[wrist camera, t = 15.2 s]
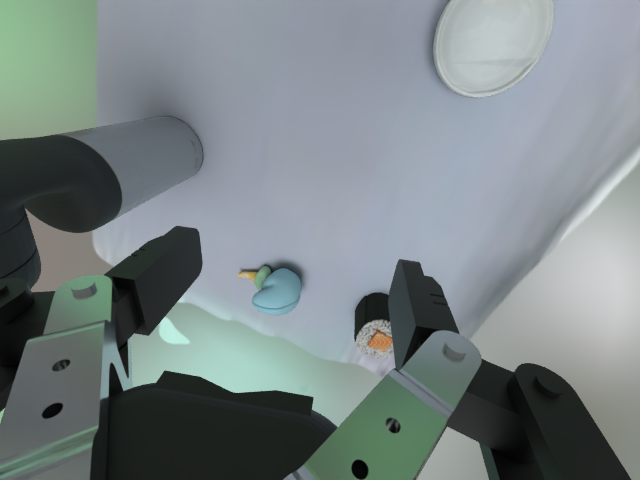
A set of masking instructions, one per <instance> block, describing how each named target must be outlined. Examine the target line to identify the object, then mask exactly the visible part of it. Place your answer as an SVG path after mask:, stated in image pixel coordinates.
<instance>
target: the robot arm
mask: <svg viewBox="0 0 640 480" xmlns="http://www.w3.org/2000/svg"><path fill="white" fill-rule="evenodd" d="M202 160H203V151H202V146H201V144H200V141H199V139H198V137H197V136H196V134H195V133H194V131H193V130H192V129H191V128H190V127H189V126H188V125H187V124H185V123H184V122H182V121H181V120H179V119H176V118H173V117H168V116H164V117H157V118H151V119H144V120H138V121H132V122H126V123H120V124H114V125H108V126H102V127H96V128H90V129H85V130H80V131H74V132H68V133H62V134H56V135H50V136H44V137H37V138H24V139H9V140H0V412H1V411H2V410H3V409H4V408H5V410H4V413H3V417H2V420H1V423H0V480H416V479H417V478H418V476H419V474H420V473H421V471H422V469H423V467H424V466H425V464H426V462H427V460H428V459H429V457H430V455H431V453H432V452H433V450H434V448H435V447H436V445H437V443H438V441H439V440H440V438H441V436H442V434H443V433H444V431H445V429H446V427H447V426H448V427H450V428H452V429H454V430H456V431H458V432H460V433H462V434H464V435H466V436H468V437H470V438H472V439H474V440H476V441H478V442H479V444H480V448H481V451H482V455H483V459H484V462H485V466H486V469H487V473H488V477H489V480H631V479H630V477H629V475H628V474H627V472H626V470H625V469H624V467H623V466H622V464H621V462H620V461H619V459H618V458H617V456H616V455H615V453H614V451H613V450H612V448H611V447H610V446H609V444H608V442H607V440H606V439H605V437H604V436H603V434H602V433H601V431H600V429H599V428H598V427H597V425H596V423H595V422H594V420H593V418H592V417H591V415H590V414H589V412H588V410H587V409H586V407H585V406H584V404H583V403H582V401H581V399H580V398H579V396H578V395H577V393H576V392H575V390H574V389H573V388H572V387H571V386H570V385H569V384H568V383H567V382H566V381H565V380H564V379H563V378H562V377H560V376H559V375H557V374H556V373H554V372H552V371H551V370H549V369H547V368H545V367H542V366H539V365H536V364H531V363H525V364H521V365H519V366H518V367H517V369H516V370H515V372H511V371H509V370H506V369H504V368H502V367H499V366H497V365H494V364H491V363H489V362H487V361H485V360H483V359H482V358H481V355H480V352H479V350H478V349H477V348H476V346H475V345H474V344H473V343H472V342H471V341H469V340H468V339H467V338H465V337H464V336H462V335H460V334H459V331H458V328H457V326H456V323H455V321H454V318H453V316H452V313H451V311H450V308H449V306H448V303H447V301H446V298H444V297H445V296H444V293H443V291H442V288H441V286H440V285H439V284H438V283H437V282H436V281H435V280H434V279H433V278H432V277H429V276H424V274H423V271H422V268H421V265H420V263H419V262H415V261H409V260H402V259H399V261H398V263H397V266H396V270H395V273H394V277H393V281H392V284H391V288H390V292H389V298H388V309H389V317H390V325H391V333H392V341H393V349H394V357H395V365H396V368H394V369H392V370H391V371H390V372H389V373H388V374H387V375H386V376H385V377H384V378H383V379H382V380H381V381H380V382H379V384H378V385H377V386H376V387H375V388H374V389H373V390H372V391H371V392H370V393H369V394H368V395H367V397H366V398H365V399H364V400H363V401H362V402H361V403H360V404H359V405H358V406H357V407H356V408H355V410H354V411H353V412H352V413H351V414H350V415H349V416H348V417H347V418H346V419H345V420H344V421H343V423H342V424H341V425H340V426H339V427H337V426H336V425H334V424H333V423H332V422H331V421H330V420H328V419H327V418H325V417H324V416H322V415H321V414H319V413H317V412H315V411H313V410H312V404H313V397H310V396H304V395H298V394H293V393H287V392H282V391H261V392H246V393H233V392H230V391H228V390H226V389H224V388H222V387H220V386H218V385H216V384H214V383H212V382H210V381H208V380H206V379H203V378H201V377H198V376H192V375H187V374H181V373H175V372H170V371H164V372H163V374H162V375H161V377H160V378H159V380H158V381H157V382H156V383H151V384H146V385H141V386H137V387H132V362H131V344H130V340H129V338H130V337H131V336H132V335H133V334H134V333H136V334H142V335H150V334H151V332H152V331H153V330H154V329H155V327H156V326H157V325H158V324H159V323H160V322H161V320H162V319H163V318H164V317H165V316H166V314H167V313H168V312H169V311H170V310H171V308H172V307H173V306H174V305H175V304H176V302H177V301H178V300H179V299H180V298H181V297H182V295H183V294H184V293H185V292H186V291H187V289H188V288H189V287H190V286H191V285H192V283H193V282H194V281H195V280H196V279H197V277H198V276H199V274H200V272H201V269H202V254H201V245H200V236H199V232H198V230H197V229H195V228H189V227H182V226H176V227H174V228H173V229H172V230H170V231H169V232H168V233H166V234H165V235H164V236H160V237H158V238H155V239H153V240H151V241H148V242H147V243H146V244H144V245H143V246H142V247H140V248H139V250H136V251H135V252H134V253H132V254H131V256H128V257H127V258H126V259H124V260H123V261H122V262H120V263H119V264H118V265H116V266H115V267H114V268H112V269H111V270H110V271H108V272H107V273H106V274H104V275H88V276H83V277H79V278H76V279H73V280H71V281H68V282H67V283H65V284H63V285H62V286H60V287H59V288H58V289H57V290H56V291H50V292H31V290H30V289H31V288H32V287H33V286H34V284H35V283H36V282H37V280H38V279H39V276H40V273H41V261H40V256H39V253H38V249H37V246H36V243H35V239H34V236H33V233H32V230H31V227H30V223H29V220H28V217H27V214H26V211H25V208H26V209H27V210H28V211H29V212H30V213H31V214H33V215H34V216H35V217H37V218H38V219H39V220H41V221H43V222H44V223H46V224H48V225H50V226H52V227H54V228H57V229H59V230H63V231H67V232H72V233H83V232H89V231H92V230H95V229H97V228H99V227H101V226H103V225H105V224H106V223H108V222H110V221H112V220H114V219H115V218H117V217H119V216H121V215H123V214H124V213H126V212H128V211H130V210H132V209H133V208H135V207H137V206H139V205H141V204H142V203H144V202H146V201H148V200H150V199H151V198H153V197H155V196H157V195H159V194H161V193H162V192H164V191H166V190H168V189H170V188H171V187H173V186H175V185H177V184H179V183H181V182H182V181H184V180H186V179H188V178H190V177H191V176H193V175H195V174H196V173H197V172H198V170H199V169H200V167H201V165H202ZM24 207H25V208H24Z"/></svg>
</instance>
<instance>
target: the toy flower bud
mask: <svg viewBox="0 0 640 480" xmlns="http://www.w3.org/2000/svg"><path fill="white" fill-rule="evenodd" d="M240 277H245V278H249V279H251V280H253V281H254V283H255V285H256V287H257V289H258V290H259V292H257V293H256V294H255V295H254V296H253V298H252V303H253V306H254V307H255V308H256V309H257V310H258V311H260V312H262V313H266V314H270V315H283V314H286V313H289V312H290V311H292V310H293V309H294V308H295V306H296V305H297V303H298V302H299V299H300V291H301V282H300V280H299V278H298V276H297V275H296V274H295V273H294V272H292V271H290V270H288V269H285V268H281V269H278V270H276V271H274V272H273V273H272V274H271V269H270V268H269V267H267V266H263V267H261V268H260V270H259V272H258V273H257V272H245V271H244V272H240V273H238V278H240Z"/></svg>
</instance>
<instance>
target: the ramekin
mask: <svg viewBox="0 0 640 480" xmlns="http://www.w3.org/2000/svg"><path fill="white" fill-rule="evenodd" d="M554 13H555V9H554V1H553V0H450V1H449V2H448V4H447V5H446V7H445V9H444V11H443V13H442V15H441V17H440V19H439V22H438V25H437V28H436V31H435V36H434V43H433V57H434V64H435V68H436V70H437V73H438V75H439V77H440V79H441V80H442V82H443V83H444V84H445V85H446V86H447V87H448V88H449V89H450V90H452V91H453V92H455V93H457V94H459V95H462V96H465V97H471V98H483V97H489V96H493V95H496V94H499V93H501V92H503V91H505V90H507V89H509V88H511V87H512V86H514V85H515V84H516V83H518V82H519V81H520V80H522V79H523V78H524V77H525V76H526V75H527V74H528V73H529V72H530V71H531V70H532V68H533V67H534V66H535V65H536V63H537V62H538V60H539V59H540V57H541V56H542V54H543V52H544V50H545V48H546V46H547V44H548V41H549V39H550V36H551V32H552V29H553V23H554Z"/></svg>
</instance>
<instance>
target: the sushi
mask: <svg viewBox="0 0 640 480" xmlns="http://www.w3.org/2000/svg"><path fill="white" fill-rule="evenodd" d="M388 298H389V295H387V294H383V293H373V294H370V295H368V296H365V297H364V298H363V299H362V300H361V301H360V303H359V304H358V305H357V307H356V310H355V334H354V339H355V344H356V347H358V346H359V348H360V351H362V350H364V353H366V352H367V353H366V355H371V357H373V356H374V358H375V357H377V359H378V358H379V356H381V359H383V358H385V357H386V356H387V357H389V358H391V355H392V356H394V349H393V341H392V333H391V325H390V317H389V309H388Z"/></svg>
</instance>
